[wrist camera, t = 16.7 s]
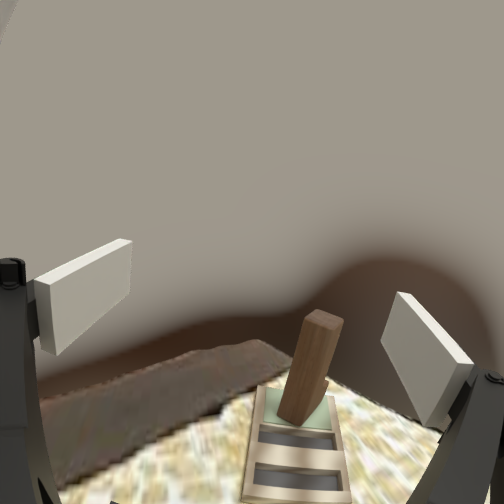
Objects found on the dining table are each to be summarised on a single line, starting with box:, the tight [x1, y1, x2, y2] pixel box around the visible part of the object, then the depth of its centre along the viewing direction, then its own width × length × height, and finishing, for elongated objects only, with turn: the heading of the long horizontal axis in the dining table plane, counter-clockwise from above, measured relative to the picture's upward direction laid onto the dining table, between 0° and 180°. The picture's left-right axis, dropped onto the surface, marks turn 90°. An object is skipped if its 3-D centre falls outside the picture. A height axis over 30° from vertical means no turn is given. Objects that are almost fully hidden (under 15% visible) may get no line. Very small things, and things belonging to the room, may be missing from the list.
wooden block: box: [277, 309, 343, 427], centre depth 47 cm, size 9×4×18 cm, turn 146°
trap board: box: [241, 385, 352, 504], centre depth 42 cm, size 14×24×2 cm, turn 175°
